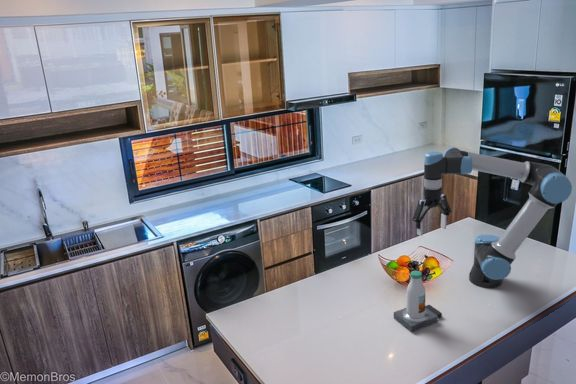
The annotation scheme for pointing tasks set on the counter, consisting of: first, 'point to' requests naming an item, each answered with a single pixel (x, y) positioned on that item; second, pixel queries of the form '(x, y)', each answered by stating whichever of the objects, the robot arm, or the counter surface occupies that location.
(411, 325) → the dark grey flat block
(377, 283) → the counter surface
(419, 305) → the milk bottle
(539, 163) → the robot arm
